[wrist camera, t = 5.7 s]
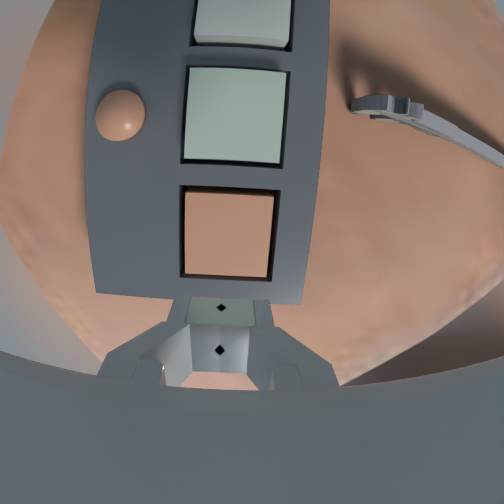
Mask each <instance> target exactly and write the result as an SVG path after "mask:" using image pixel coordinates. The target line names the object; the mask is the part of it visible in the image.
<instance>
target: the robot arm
mask: <svg viewBox="0 0 504 504" xmlns="http://www.w3.org/2000/svg"><path fill="white" fill-rule="evenodd" d="M192 371H200V372H219V371H220V372H225V373H243V374H247V376H248V377H249V378H250V379H251V381H252V382H253V383H254V384H255V386H256V387H257V388H258V389H259V390H260V391H249V390H217V389H199V388H186V387H179V386H180V385H181V384H182V383H183V382H184V381H185V380H186V379H187V378H188V376H189V375H190V374H191V373H192ZM0 504H504V356H503V357H499V358H496V359H493V360H489V361H486V362H482V363H478V364H475V365H471V366H467V367H463V368H459V369H455V370H450V371H445V372H441V373H436V374H431V375H425V376H420V377H414V378H409V379H403V380H396V381H389V382H383V383H375V384H367V385H358V386H348V387H340V386H339V383H338V381H337V378H336V375H335V373H334V370H333V367H332V365H331V364H330V363H329V362H327V361H326V360H324V359H323V358H322V357H320V356H319V355H317V354H316V353H314V352H313V351H312V350H310V349H309V348H307V347H306V346H305V345H303V344H302V343H300V342H299V341H297V340H296V339H295V338H293V337H292V336H291V335H289V334H288V333H286V332H285V331H284V330H282V329H281V328H279V327H275V326H274V321H273V316H272V311H271V307H270V302H269V300H268V299H222V298H209V297H196V296H192V297H191V296H182V295H176V296H175V298H174V301H173V304H172V307H171V310H170V313H169V316H168V319H167V322H161V323H159V324H157V325H156V326H154V327H152V328H150V329H149V330H147V331H145V332H143V333H142V334H140V335H138V336H137V337H135V338H133V339H131V340H130V341H128V342H126V343H124V344H123V345H121V346H119V347H117V348H116V349H114V350H112V351H111V352H109V353H107V355H106V357H105V359H104V361H103V363H102V365H101V368H100V370H99V372H98V374H97V376H96V375H91V374H85V373H81V372H76V371H72V370H67V369H63V368H59V367H55V366H50V365H47V364H42V363H39V362H35V361H31V360H28V359H25V358H21V357H18V356H14V355H11V354H8V353H5V352H2V351H0Z"/></svg>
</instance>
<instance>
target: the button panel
mask: <svg viewBox="0 0 504 504" xmlns="http://www.w3.org/2000/svg"><path fill="white" fill-rule="evenodd" d="M198 1H199V0H102V3H101V7H100V12H99V17H98V21H97V26H96V32H95V37H94V43H93V49H92V56H91V63H90V71H89V80H88V90H87V102H86V117H85V150H84V164H85V196H86V213H87V225H88V236H89V245H90V254H91V261H92V269H93V275H94V282H95V288H96V293H104V294H115V295H126V296H137V297H149V298H163V299H174V298H175V296H176V295H182V296H191V297H192V296H196V297H209V298H222V299H268V300H269V302H270V304H300V305H301V299H302V293H303V287H304V281H305V274H306V268H307V261H308V254H309V248H310V241H311V233H312V226H313V218H314V211H315V203H316V194H317V186H318V177H319V168H320V158H321V148H322V137H323V126H324V114H325V101H326V86H327V70H328V49H329V19H330V0H291V8H290V25H289V40H288V42H287V44H286V46H285V47H284V49H283V51H277V50H267V49H256V48H242V47H217V46H198V44H197V41H196V39H195V36H194V30H195V22H196V15H197V8H198ZM190 68H233V69H250V70H262V71H273V72H282V73H286V84H285V97H284V111H283V123H282V135H281V147H280V159H279V163H269V162H255V161H240V160H220V159H188V158H184V148H185V129H186V113H187V99H188V87H189V76H190ZM192 185H197V186H221V187H241V188H257V189H269V190H270V192H271V193H272V195H273V196H274V202H273V213H272V224H271V234H270V244H269V255H268V265H267V275H266V277H249V276H227V275H207V274H188V273H185V192H186V191H187V190H188V189H189V188H190V187H191V186H192Z"/></svg>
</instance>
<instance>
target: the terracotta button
mask: <svg viewBox="0 0 504 504" xmlns="http://www.w3.org/2000/svg"><path fill="white" fill-rule="evenodd" d="M273 202H274V196H273V195H272V193H271V192H270V190H269V189H257V188H241V187H221V186H197V185H192V186H191V187H190V188H189V189H188V190H187V191H186V192H185V273H188V274H207V275H227V276H249V277H266V275H267V265H268V255H269V244H270V234H271V224H272V213H273Z"/></svg>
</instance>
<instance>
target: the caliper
mask: <svg viewBox="0 0 504 504" xmlns="http://www.w3.org/2000/svg"><path fill="white" fill-rule="evenodd" d="M350 113H352V114H371V115H370V119H374V120H380V121H387V122H395V123H402V124H407V125H409V126H412V127H413V128H415V129H417V130H419V131H422V132H425V133H427V134H429V135H432V136H438V137H441V138H443V139H445V140H448V141H450V142H452V143H454V144H456V145H458V146H460V147H463V148H465V149H467V150H469V151H471V152H473V153H475V154H477V155H479V156H480V157H482V158H484V159H486V160H488V161H490V162H492V163H493V164H495V165H497V166H499V167H501V168H503V169H504V155H503V154H501V153H500V152H498V151H497V150H495V149H493V148H492V147H490V146H488V145H487V144H485V143H483V142H482V141H480V140H478V139H477V138H475V137H473V136H471V135H470V134H468V133H466V132H464V131H462V130H460V129H458V126H456V125H454V124H452V123H450V122H448V121H447V120H445V119H443V118H441V117H439V116H437V115H435V114H433V113H431V112H428V111H426V110H424V104H421V103H415V102H410V98H396V97H393V96H390V95H369V96H364V97H360V98H356V99H353V100H352V102H351V110H350Z"/></svg>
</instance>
